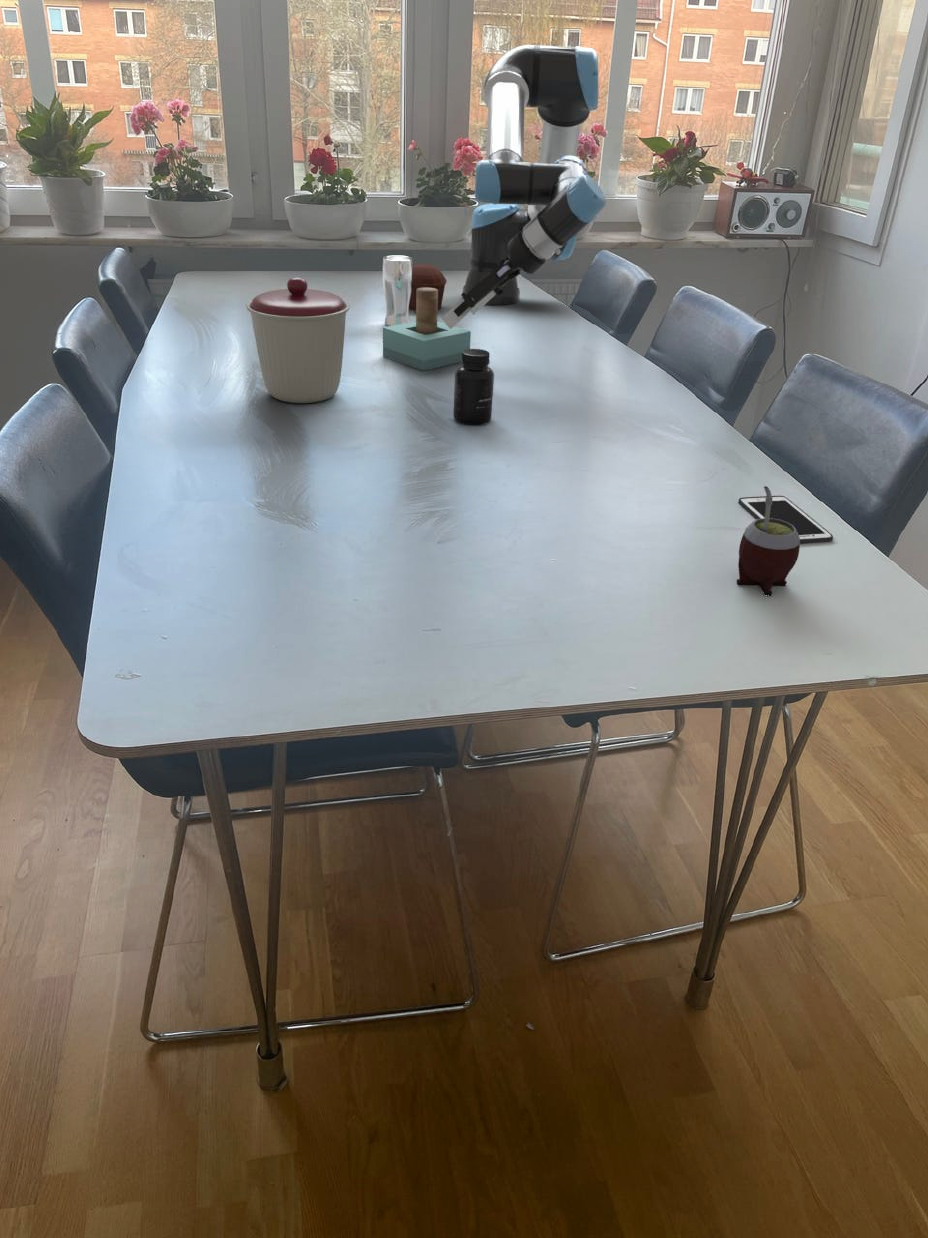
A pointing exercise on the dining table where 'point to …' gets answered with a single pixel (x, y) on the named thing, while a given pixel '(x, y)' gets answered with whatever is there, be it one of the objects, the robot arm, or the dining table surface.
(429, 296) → the dowel pin
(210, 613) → the dining table surface
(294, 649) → the dining table surface
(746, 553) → the mate gourd
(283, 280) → the dining table surface
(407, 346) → the socket block
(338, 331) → the canister
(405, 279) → the beer glass
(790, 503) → the cell phone
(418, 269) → the muffin
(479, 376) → the supplement bottle
